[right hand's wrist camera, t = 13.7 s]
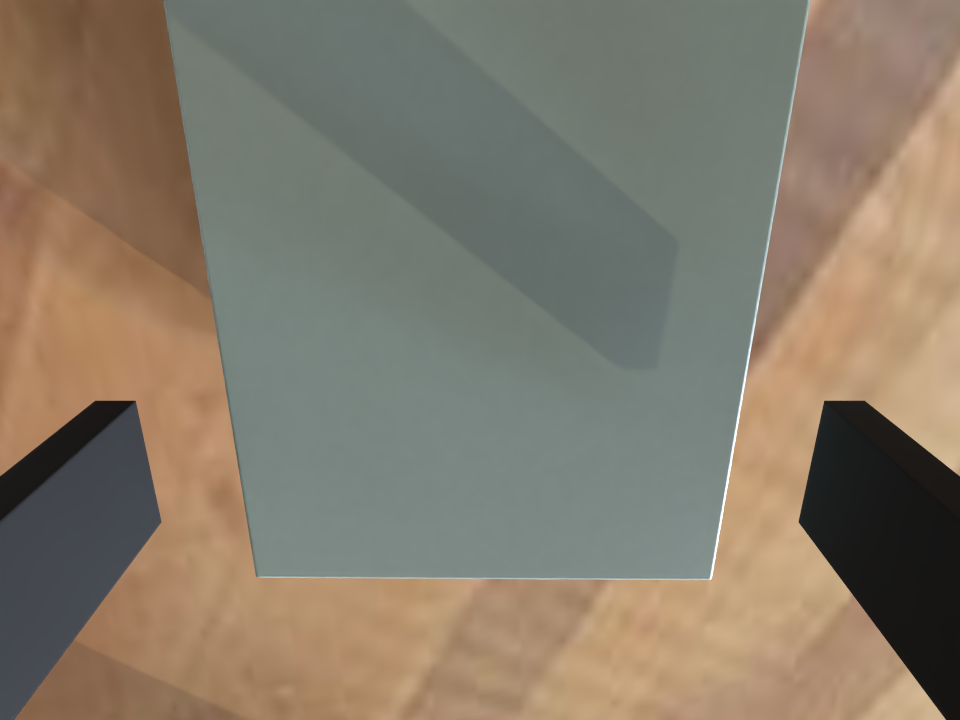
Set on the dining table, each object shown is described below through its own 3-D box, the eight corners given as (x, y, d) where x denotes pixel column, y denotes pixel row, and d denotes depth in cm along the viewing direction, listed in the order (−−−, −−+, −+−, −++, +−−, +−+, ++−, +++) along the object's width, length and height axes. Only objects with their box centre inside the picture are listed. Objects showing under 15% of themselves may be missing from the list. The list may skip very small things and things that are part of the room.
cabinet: (279, -330, 17) (24, -843, 8) (695, -330, 17) (958, -848, 7) (341, 390, 25) (254, 579, 15) (626, 392, 25) (712, 581, 15)
